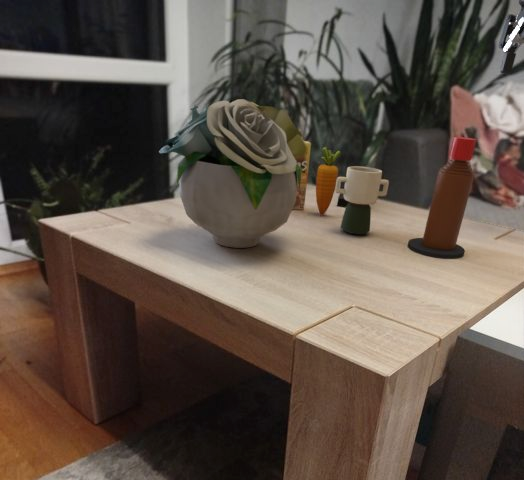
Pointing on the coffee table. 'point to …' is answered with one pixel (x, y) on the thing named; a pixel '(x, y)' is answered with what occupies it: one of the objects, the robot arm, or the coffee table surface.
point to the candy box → (302, 177)
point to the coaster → (434, 250)
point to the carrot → (326, 181)
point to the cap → (462, 148)
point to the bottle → (448, 205)
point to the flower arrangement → (238, 170)
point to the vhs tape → (342, 200)
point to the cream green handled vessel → (360, 196)
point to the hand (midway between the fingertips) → (519, 73)
